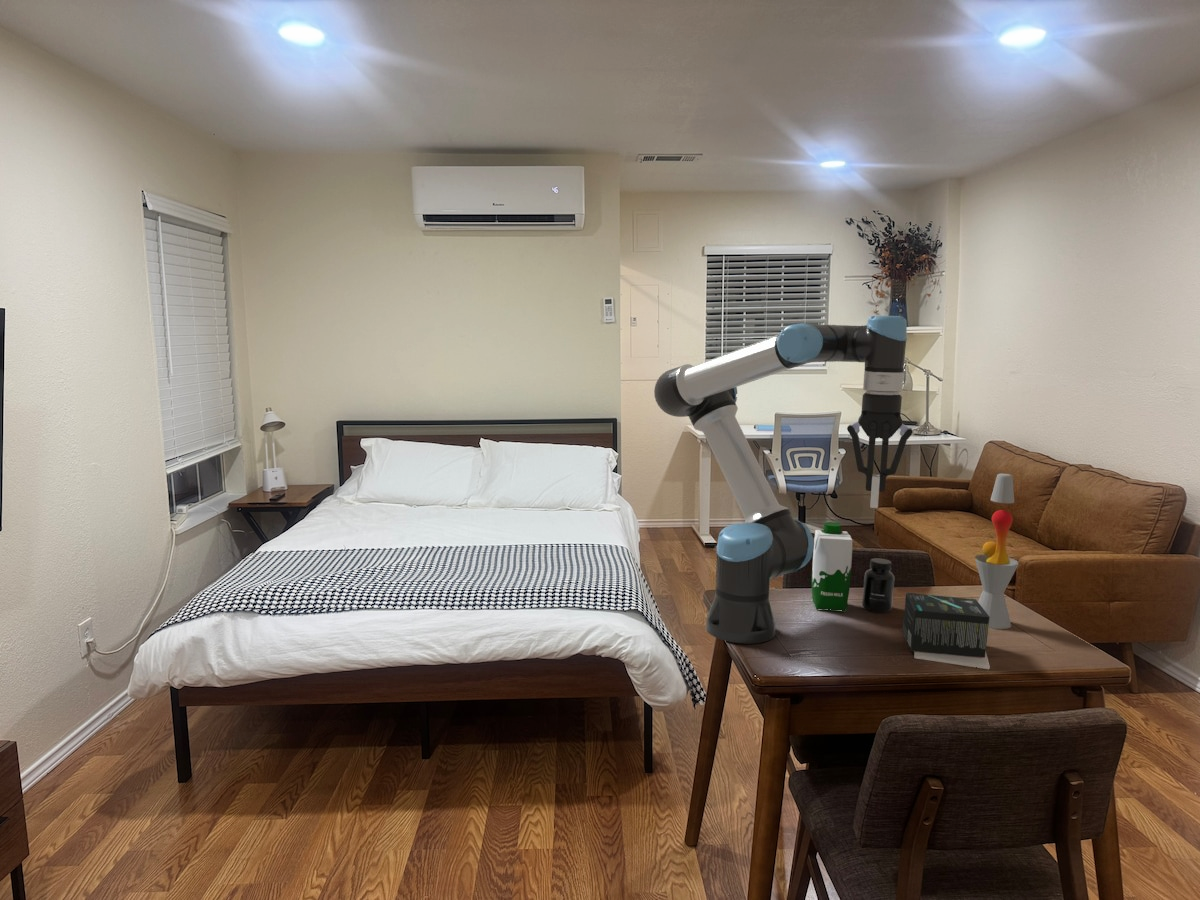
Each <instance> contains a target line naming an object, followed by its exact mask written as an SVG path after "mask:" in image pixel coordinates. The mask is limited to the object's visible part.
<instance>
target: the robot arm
mask: <svg viewBox="0 0 1200 900" xmlns="http://www.w3.org/2000/svg"><path fill="white" fill-rule="evenodd" d="M907 323H908V322H907V319H906V318H905V317H904V316H902V315H870V316H869V317H868V318H867V323H866V324H865V325H848V324H847V325H841V324H840V325H838V324H815V323H814V324H813V323H812V324H811V323H803V322H799V323H796V324H795V323H794V324H790V325H787V326H786V327H785V328H784V329H782V331H781V332H780V333H777V334H776V335H773V336H771V337H768V338H765V339H763V340H760V341H757V342H754V343H751V344H749V345H747V346H744V347H741V348H739V349H738V348H737V349H736V350H733V351H730V352H727V353H725V354H722V355H719V356H716V357H714V358H712V359H709V360H706V361H703V362H701V363H698V364H696V365H693V364H689V363H688V364H683V365H680V366H677V367H675V368H671V369H669V370H667V371H665V372H663V373H662V374H661V375H660V376H659V377H658V379H657V381H656V383H655V386H654V390H653V391H654V393H653V394H654V398H655V402H656V404H657V406H658V407H659V408H660V409H661V410H662V412H664V413H665V414H667V415H669V416H671V417H676V418H681V417H682V418H683V417H688V419H689V420H690V422H691V424H692V427H693V428H694V430H695V431H699V432H702V433H703V435H704V437H705V439H706V441H707V443H708V446H709V447H710V449H711V452H712V453H713V456H714V458H715V460H716V462H717V464H718V466H719V468H720V470H721V473H722V475H723V476H724V478H725V480H726V483H727V484H728V486H729V489H730V491H731V493H732V495H733V497H734V499H735V501H736V503H737V505H738V508H739V510H740V511H741V514H742V516H743V518H744V523H734V524H730V525H727V526H726V527H724V528H723V529H721V531H720V532H719V533H718V536H717V537H718V539H717V545H716V569H715V570H716V571H715V573H716V575H715V592H714V593H715V595H714V598H713V601H712V603H711V606H710V608H709V611H708V614H707V616H706V619H705V621H706V623H705V630H706V632H707V633H708V634H709V635H710V636H712V637H714V638H716V639H719V640H722V641H725V642H730V643H734V644H746V645H747V644H751V645H752V644H761V643H765V642H768V641H771V640H773V638H774V637H775V635H776V622H775V617H774V614H773V611H772V606H771V602H770V584H771V582H770V581H771V580H772V579H775V578H777V577H781V576H784V575H786V574H793V573H795V572H797V571H799V570H800V569H801V568H804V567H805V566H806V565H807V564H808V563H809V562H811V561H810V560H811V558H813V551H814V537H813V534H812V531H811V530H810V528H809V527H808V526H807V524H805V523H804V522H803V521H800V520H799V519H796V518H794V516H793V515H792V512H791V511H790V509H789V508H788V507H787V506H784V505H781V504H780V503H779V501H778V500H777V498H776V496H775V494H774V491H773V490H772V488H771V485H770V484H769V482H768V479H767V477H766V475H765V474H764V472H763V470H762V468H761V466H760V464H759V462H758V459H757V457H756V456H755V454H754V452H753V450H752V448H751V445H750V443H749V442H748V440H747V438H746V435H745V434H744V432H743V430H742V427H741V426H740V424H739V421H738V420H737V418H736V415H737V412H738V410H739V408H738V405H737V404H736V403H737V400H738V397H737V394H738V388H737V387H739V386H740V387H741V386H743V385H746V384H748V383H751V382H755V381H757V380H761V379H764V378H766V377H769V376H773V375H775V374H778V373H781V372H782V373H783V372H784V371H786V370H789V369H790V370H791V369H793V368H797V367H800V366H803V365H806V364H807V365H808V364H810V363H823V362H824V363H826V362H827V363H828V362H829V363H830V362H831V363H833V362H835V363H836V362H839V363H840V362H842V363H843V362H846V363H847V362H849V363H851V362H852V363H864V371H863V387H862V389H863V391H865V393H863V394H862V398H861V399H862V400H861V414H860V416H859V417H858V421H856V422H854V423H852V424H849V425H848V426H847V427H846V430H847V432H848V433H849V435H850V437H851V441H852V446H853V451H854V457H855V462H856V467H857V472H859V473H863V474H864V475H865V490H866V492H867V491H868V492H870V503H869V505H870V506H869V508H871V509H878V508H879V495H880V494H879V493H885V491H886V485H887V478H888V476H891V475H895V474H896V472H897V470H898V467H899V463H900V461H901V457H902V456H903V453H904V450H905V447H906V443H907V441H908V439H910V437H911V436H912V435H913V433H914V430H913V429H912V428H911V427H908V426H907V425H905V424H904V423H903V419H902V416H901V414H902V413H901V412H902V403H903V402H902V398H903V396H902V394H900V393H901V392H902V391H903V386H904V376H905V375H904V373H905V371H904V370H905V357H906V347H907V341H908V337H907V333H908V332H907V330H908V329H907V326H908V325H907ZM860 427H861V428H862V430H863V431H864V434H865V435H866V436H867V437H868V450H867V463H866V466H865V464H864V458H863V454H862V448H861V447H862V446H861V443H860V442H861V441H860V438H859V432H860ZM899 429H900V431H899V435H900V438H899V441H898V444H897V448H896V450H895V452H894V455H893V459H892V462H891V465H890V467H888V456H889V455H888V454H889V443H890V441H889V439H891V438H892V437H893V436H894V435H895V434H896V433H897V431H898V430H899ZM876 439H882V440H881V453H880V467H879V468H880V470H879V474H874V464H875V450H876Z"/></svg>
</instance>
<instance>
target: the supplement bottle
mask: <svg viewBox="0 0 1200 900" xmlns="http://www.w3.org/2000/svg"><path fill="white" fill-rule="evenodd" d="M869 561H870V562H869V569H867V570H866V571H865V572H864V579H863V591H862V601H861V606H862V607H863V609H865V610H866V609H867V611H869V610H870V612H872V611H873V613H877V612H881V613H880V614H885V613H884V612H886V613H889V612H890V611H892V608H893V599H894V597H893V596H894V589H895V588H894V587H895V574H893V572H892V571H891V570H892V561H891V560H889V559H885V558H877V557H875V558H871V559H870V560H869Z"/></svg>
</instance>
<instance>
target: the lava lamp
mask: <svg viewBox="0 0 1200 900" xmlns="http://www.w3.org/2000/svg"><path fill="white" fill-rule="evenodd" d="M1014 490H1015V489H1014V478H1013V475H1012V474H1009V473H998V474H997V475H996V478H995V482H994V485H993V490H992V493H991V497H990V501H991V502H994V503H1000V504H1015V493H1014ZM1013 520H1014V519H1013V515H1012V514H1011V512H1010V511H1008V510H1005V509H999V510H995V512H993V514H992V515H991V522H992V525H993V529H994V530H995V531H994V532H995V535H996V536H995V537H996V542H995V541H990V540H989V541H987V542H985V543H984V544H983V545H982V552H983V554H978V555H975V556H974V559H975V565H976V567H977V571H978V575H979V578H980V583H981V586H982V592H981V594H980V596H979V598H978V600H977V601H978V603H979V604H980V605H981V606H982V608H983V609H984V610H985V611H986V613H987V614H988V615H989V616H990V619H989V625H988V629H992V630H993V629H994V630H1006V629H1010V628H1011V627H1012V624H1011V623H1012V622H1011V620H1010V615H1009V610H1008V606H1007V602H1006V598H1005V592H1006V589H1007V587H1008V585H1009V583H1010V581H1011V579H1012V578H1013V576H1014V574H1015V572H1016V570H1017V569H1018V566H1019V561H1017V560H1016V559H1013V558H1012V557H1009V556H1008V552H1007V537H1008V535H1009V534H1008V533H1009V531H1010V528H1011V526H1012V525H1013V522H1014V521H1013Z"/></svg>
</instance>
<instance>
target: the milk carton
mask: <svg viewBox="0 0 1200 900" xmlns="http://www.w3.org/2000/svg"><path fill="white" fill-rule="evenodd" d="M813 540H814V550H813V553H812V570H811V598H812V599H813V600H812V602H814V603H813V605H814V604H815V605H814V607H815V610H816V609H828V610H830V609H831V610H842V611H846V612H847V609H848V608H847V607H848V602H849V593H850V589H851V587H850V586H851V576H852V575H851V574H852V563H853V562H852V560H853V539H852V536H851V535H850V534H849V533H848V531H842V524H840V523H838V522H833V521H830V522H829V521H827V522H824V523H823V529H815V530H814V537H813ZM842 611H841V612H842Z"/></svg>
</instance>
